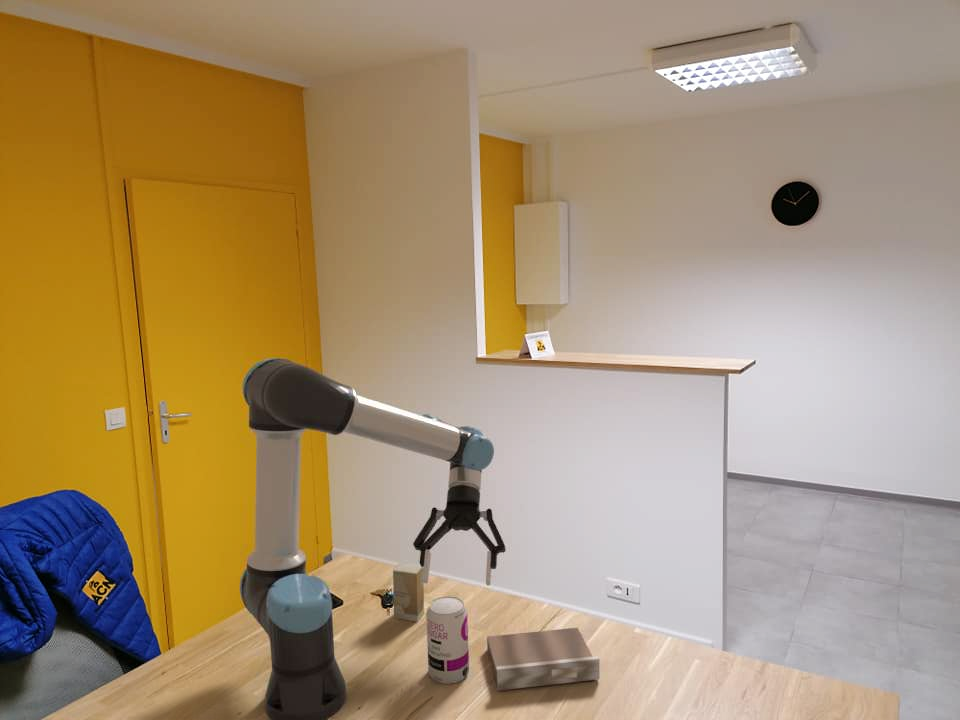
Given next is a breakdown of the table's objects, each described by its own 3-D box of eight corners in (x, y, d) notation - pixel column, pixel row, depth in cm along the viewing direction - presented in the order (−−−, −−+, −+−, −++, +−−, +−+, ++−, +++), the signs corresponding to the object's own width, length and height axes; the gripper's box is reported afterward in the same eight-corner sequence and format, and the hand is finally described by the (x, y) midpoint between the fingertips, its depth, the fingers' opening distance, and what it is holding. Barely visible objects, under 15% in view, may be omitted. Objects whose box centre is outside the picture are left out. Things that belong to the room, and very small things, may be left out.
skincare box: (393, 618, 164) (391, 570, 162) (400, 609, 168) (398, 561, 166) (418, 622, 162) (416, 573, 160) (425, 613, 166) (423, 564, 164)
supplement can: (470, 662, 146) (468, 595, 143) (466, 686, 138) (464, 616, 135) (432, 661, 146) (429, 594, 144) (425, 685, 138) (423, 615, 136)
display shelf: (498, 693, 135) (497, 670, 134) (486, 649, 150) (485, 628, 149) (599, 682, 138) (599, 659, 137) (578, 640, 153) (578, 619, 152)
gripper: (518, 498, 163) (515, 589, 150) (413, 496, 165) (402, 586, 153) (517, 484, 156) (513, 578, 144) (408, 482, 159) (395, 574, 147)
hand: (456, 582), depth 149 cm, fingers open, 13 cm apart
